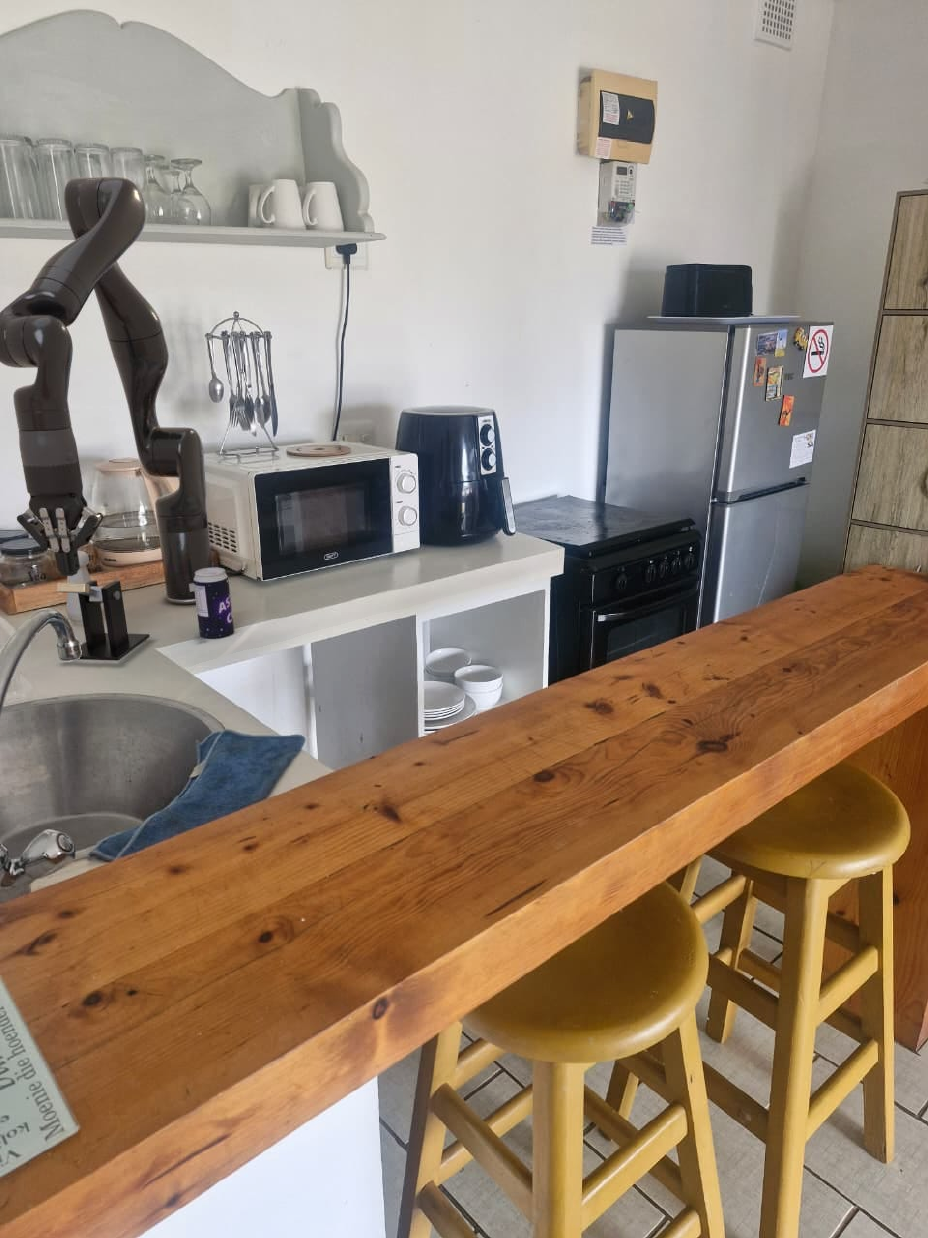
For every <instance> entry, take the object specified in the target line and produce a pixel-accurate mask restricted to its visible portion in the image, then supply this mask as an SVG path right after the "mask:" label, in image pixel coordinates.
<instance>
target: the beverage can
mask: <svg viewBox="0 0 928 1238" xmlns="http://www.w3.org/2000/svg"><path fill="white" fill-rule="evenodd" d="M225 572H226V570H225V568H222V567H215V568H204V569H200V570H198V571H196V572H195V577H194V580H193V581H194V590H195V598H196V604H195V606H196V607H195V608H196V614H197V615H196V616H197V622H198V630H199V637H200V638H202V639H204V640H205V639H207V640H219V639H225V638H227V637H231V636H232V635H233V634H234V633H235V629H234V619H233V611H232V610H233V609H232V608H233V607H232V599H231V592H230V591H231V590H230V581H229V575H226V573H225Z"/></svg>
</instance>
